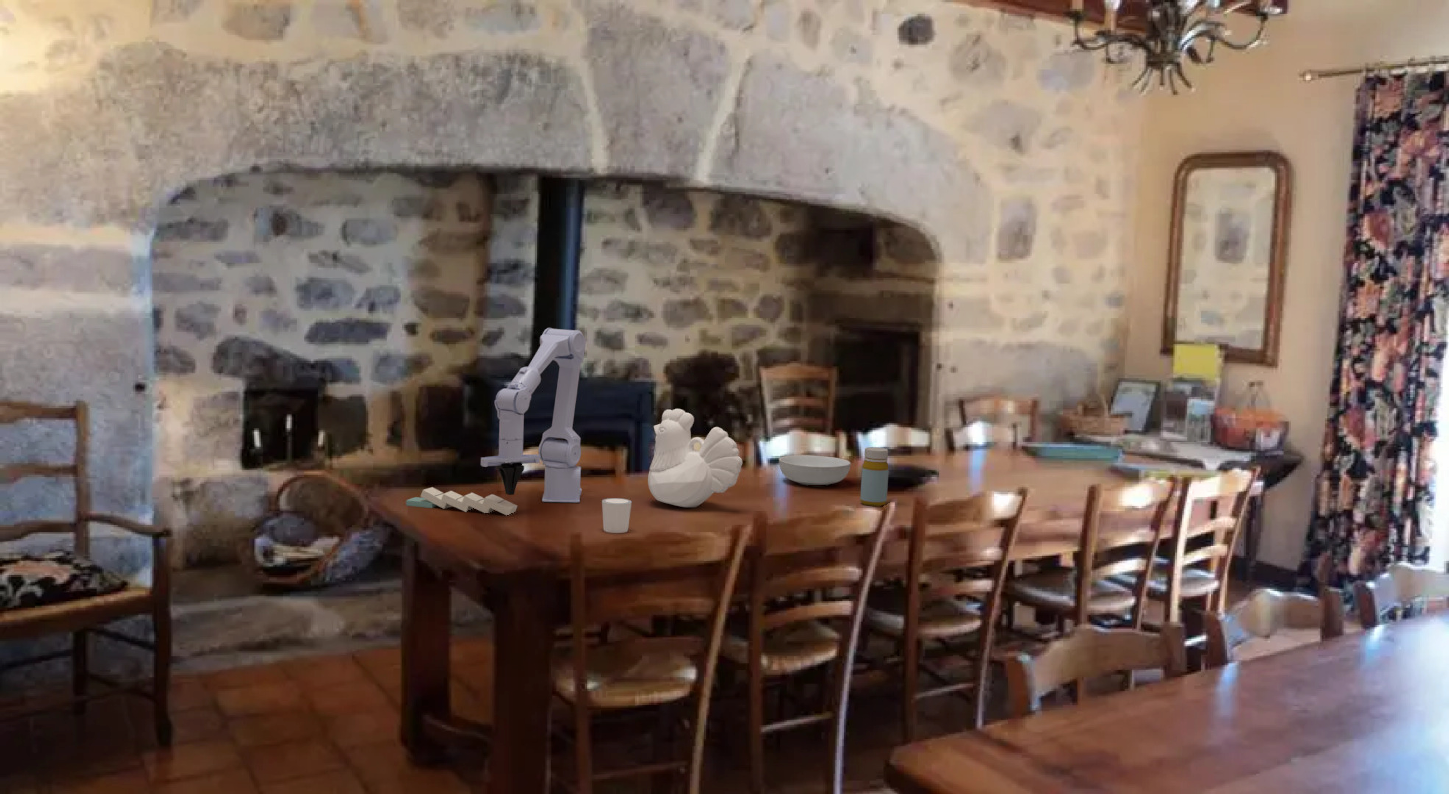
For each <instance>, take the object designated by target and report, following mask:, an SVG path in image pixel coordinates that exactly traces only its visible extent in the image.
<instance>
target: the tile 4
mask: <svg viewBox="0 0 1449 794" xmlns="http://www.w3.org/2000/svg"><path fill="white" fill-rule="evenodd" d="M463 496H464V498H463V501H462V503H464V504H466V505H468V506H471V507H473V508H474V509H476V510H478V511H479V512H482V513H483V514H485V513H489V514H490V512H491V513H493V512H494V511H493V510H494V509H492V508H490V507H488V506H486V505H483V502H484V499H485V497H483V496H480V495H478V494H476V493H474V492H470V493H467V494H465V495H463ZM492 511H493V512H492Z"/></svg>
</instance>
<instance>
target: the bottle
mask: <svg viewBox="0 0 1449 794" xmlns="http://www.w3.org/2000/svg"><path fill="white" fill-rule="evenodd" d="M888 457H889V450H888V449H887V448H884V447H877V446H876V447H873V446H871V447H870V446H868V447H865V448H864V457H863V458H864V460H863V463H862V469H861V481H860V483H861V484H860V503H861V504H862V505H865V506H868V507H882V506H881V505H884V504H885V503H886V504H887V500H888V487H889V486H888V483H889V464H888ZM886 504H885V505H886ZM885 505H884V506H885Z"/></svg>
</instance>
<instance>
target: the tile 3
mask: <svg viewBox="0 0 1449 794" xmlns="http://www.w3.org/2000/svg"><path fill="white" fill-rule="evenodd" d="M443 493H444V492H443ZM464 496H465V495H461V494H459V493H457V492H455V491H453V490H449V491H446V492H445V493H444V494H443V496H442V499H441V501H443V502H445V503H447V504H449V505H451V507H454V508H455V509H458V510H461V511H463V512H465V513H467V511H468V510H470V511H471V509H472V510H474V509H473V507H471V506H468V505H466V504H464V503H462V501H463V498H464ZM468 512H469V511H468Z"/></svg>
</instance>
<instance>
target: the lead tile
mask: <svg viewBox="0 0 1449 794" xmlns="http://www.w3.org/2000/svg"><path fill="white" fill-rule="evenodd" d="M484 498H485V499H484V502H483V505H486V506H488V507H490V508H492V509H494V510H495V511H497V512H499V513H501V514H503V515H505V516H507V515H509V514H511V513H513V514H515V513H516V511H517V508H518V505H517V504H515V503H513V502H511V501H508V500H506V499H504V498H502V497H500V496H498V495H495V494H494V493H493V494H489V495H487V496H485V497H484ZM514 512H515V513H514ZM511 515H512V514H511ZM509 516H510V515H509Z"/></svg>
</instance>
